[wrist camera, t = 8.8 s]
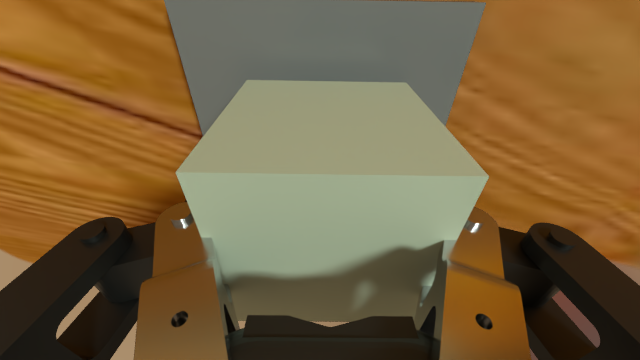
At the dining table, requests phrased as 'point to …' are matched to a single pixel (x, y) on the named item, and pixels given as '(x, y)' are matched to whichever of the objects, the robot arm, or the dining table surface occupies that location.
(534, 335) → the robot arm
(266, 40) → the slate board
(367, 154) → the sage block
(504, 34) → the dining table surface
